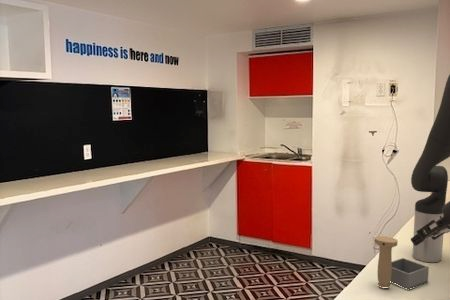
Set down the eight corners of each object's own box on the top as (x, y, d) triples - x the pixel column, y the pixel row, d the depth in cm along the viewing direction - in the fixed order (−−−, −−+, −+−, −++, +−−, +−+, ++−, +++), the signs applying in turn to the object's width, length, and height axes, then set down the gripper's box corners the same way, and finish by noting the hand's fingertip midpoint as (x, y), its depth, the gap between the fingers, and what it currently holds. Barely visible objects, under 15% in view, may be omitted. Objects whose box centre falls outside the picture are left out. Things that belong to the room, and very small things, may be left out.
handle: (375, 281, 132) (377, 235, 130) (397, 287, 128) (399, 239, 126) (370, 287, 128) (372, 239, 126) (392, 292, 124) (395, 243, 122)
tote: (402, 272, 139) (402, 257, 138) (427, 282, 131) (428, 267, 130) (382, 279, 133) (383, 264, 133) (408, 290, 126) (409, 274, 125)
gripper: (472, 191, 111) (429, 223, 122) (442, 199, 103) (398, 232, 114) (492, 216, 107) (445, 246, 118) (462, 225, 99) (415, 257, 110)
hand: (422, 239), depth 116 cm, fingers open, 8 cm apart
